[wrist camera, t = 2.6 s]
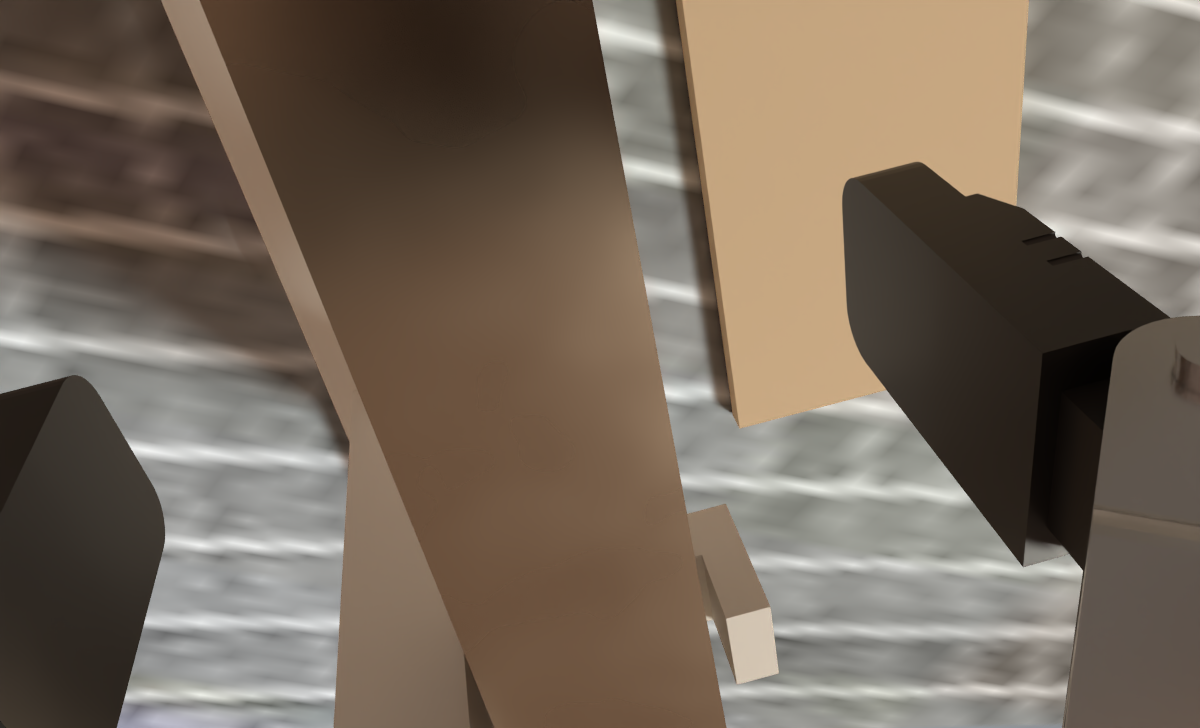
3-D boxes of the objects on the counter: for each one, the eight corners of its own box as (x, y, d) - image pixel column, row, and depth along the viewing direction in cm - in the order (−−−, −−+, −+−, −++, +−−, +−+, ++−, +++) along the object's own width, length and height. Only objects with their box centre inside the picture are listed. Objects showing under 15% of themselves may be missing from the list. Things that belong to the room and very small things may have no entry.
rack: (462, -626, 14) (694, -1759, 3) (661, 417, 25) (867, 938, 14) (-45, -520, 14) (-1575, -1392, 3) (379, 490, 24) (371, 1081, 14)
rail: (298, -1273, 6) (239, -1914, 4) (708, 737, 19) (755, 890, 16) (-163, -1189, 6) (-529, -1797, 4) (555, 779, 19) (580, 941, 16)
